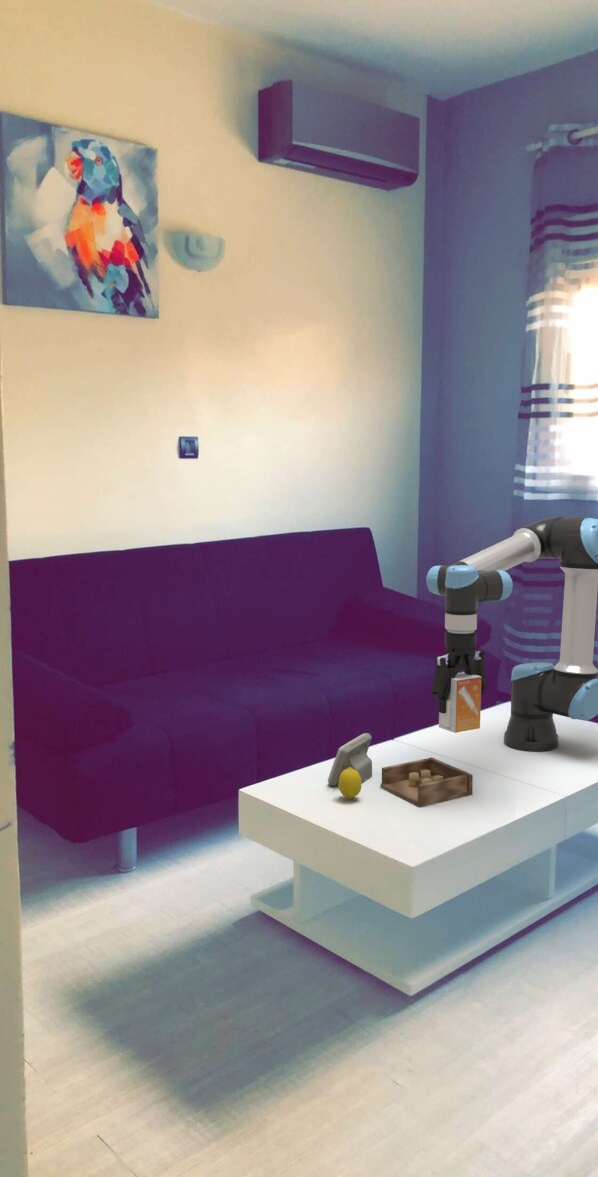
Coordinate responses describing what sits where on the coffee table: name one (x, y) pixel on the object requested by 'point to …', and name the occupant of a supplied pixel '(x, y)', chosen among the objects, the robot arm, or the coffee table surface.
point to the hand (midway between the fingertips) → (459, 723)
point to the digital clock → (352, 759)
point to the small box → (464, 703)
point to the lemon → (350, 783)
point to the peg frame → (426, 781)
